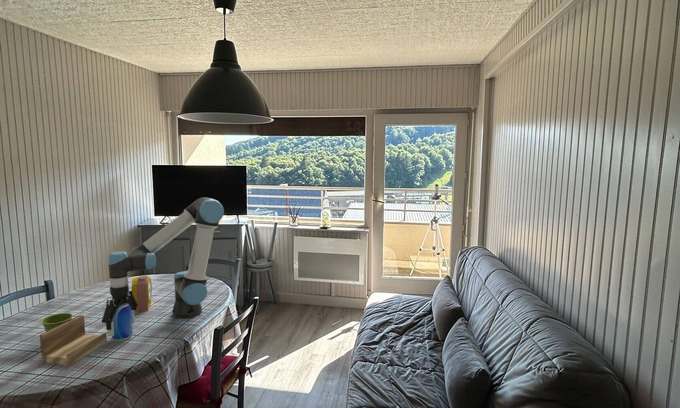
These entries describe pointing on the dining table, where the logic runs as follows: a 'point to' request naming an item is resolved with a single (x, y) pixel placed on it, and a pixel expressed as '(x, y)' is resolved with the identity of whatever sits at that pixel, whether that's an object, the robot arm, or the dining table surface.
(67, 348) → the cleat board
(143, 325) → the dining table surface
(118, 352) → the dining table surface
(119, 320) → the beer can
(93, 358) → the dining table surface
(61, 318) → the plant pot
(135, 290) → the alarm clock
